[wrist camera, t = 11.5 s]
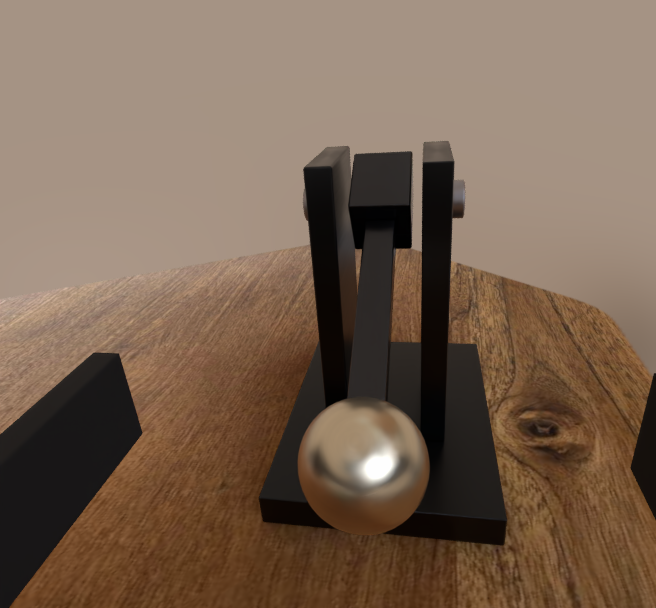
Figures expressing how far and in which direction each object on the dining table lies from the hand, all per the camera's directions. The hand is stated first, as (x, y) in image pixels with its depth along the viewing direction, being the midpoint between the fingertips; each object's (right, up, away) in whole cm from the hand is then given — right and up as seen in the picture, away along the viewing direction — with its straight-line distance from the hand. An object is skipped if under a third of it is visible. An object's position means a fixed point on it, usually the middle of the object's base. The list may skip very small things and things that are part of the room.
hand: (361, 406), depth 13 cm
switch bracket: (+2, -3, +11) cm, 12 cm away
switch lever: (+1, +1, +5) cm, 5 cm away
